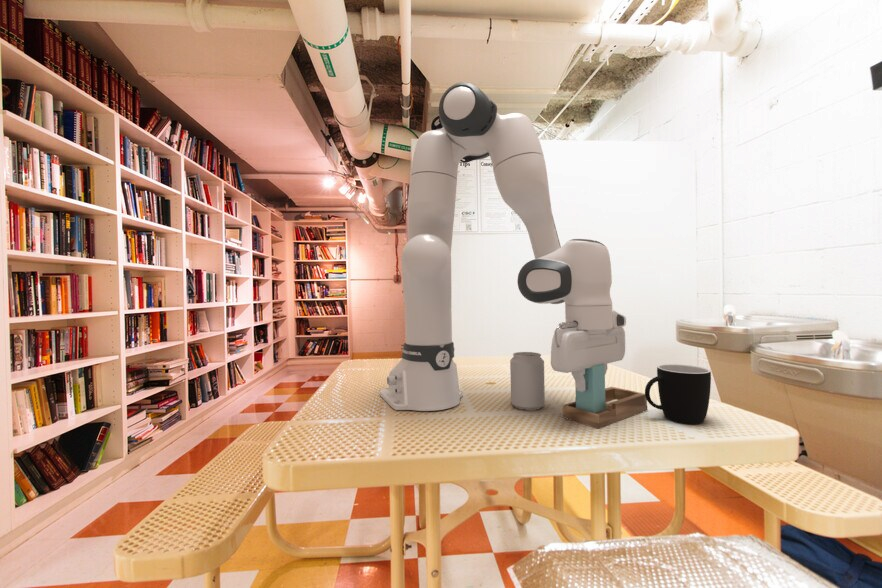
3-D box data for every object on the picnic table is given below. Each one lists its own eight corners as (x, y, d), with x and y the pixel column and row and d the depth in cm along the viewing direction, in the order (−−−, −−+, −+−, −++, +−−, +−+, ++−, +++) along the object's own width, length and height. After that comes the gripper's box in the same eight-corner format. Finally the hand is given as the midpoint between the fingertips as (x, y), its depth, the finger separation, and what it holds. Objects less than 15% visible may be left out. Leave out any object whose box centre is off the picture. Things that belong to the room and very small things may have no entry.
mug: (691, 411, 79) (690, 363, 79) (723, 426, 70) (722, 372, 70) (634, 412, 79) (633, 364, 79) (658, 427, 70) (658, 373, 70)
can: (548, 411, 80) (547, 355, 80) (513, 411, 81) (513, 356, 80) (540, 401, 88) (539, 350, 88) (508, 401, 88) (507, 350, 88)
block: (593, 413, 72) (592, 366, 72) (576, 408, 75) (574, 363, 75) (605, 409, 74) (604, 364, 74) (587, 404, 78) (586, 361, 78)
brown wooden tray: (562, 417, 76) (562, 400, 76) (612, 401, 87) (612, 386, 87) (598, 428, 70) (598, 410, 70) (647, 410, 80) (647, 393, 80)
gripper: (569, 324, 66) (571, 401, 66) (630, 317, 78) (632, 383, 78) (541, 322, 72) (543, 394, 72) (602, 315, 83) (604, 377, 83)
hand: (590, 388), depth 75 cm, fingers closed on block, 4 cm apart
